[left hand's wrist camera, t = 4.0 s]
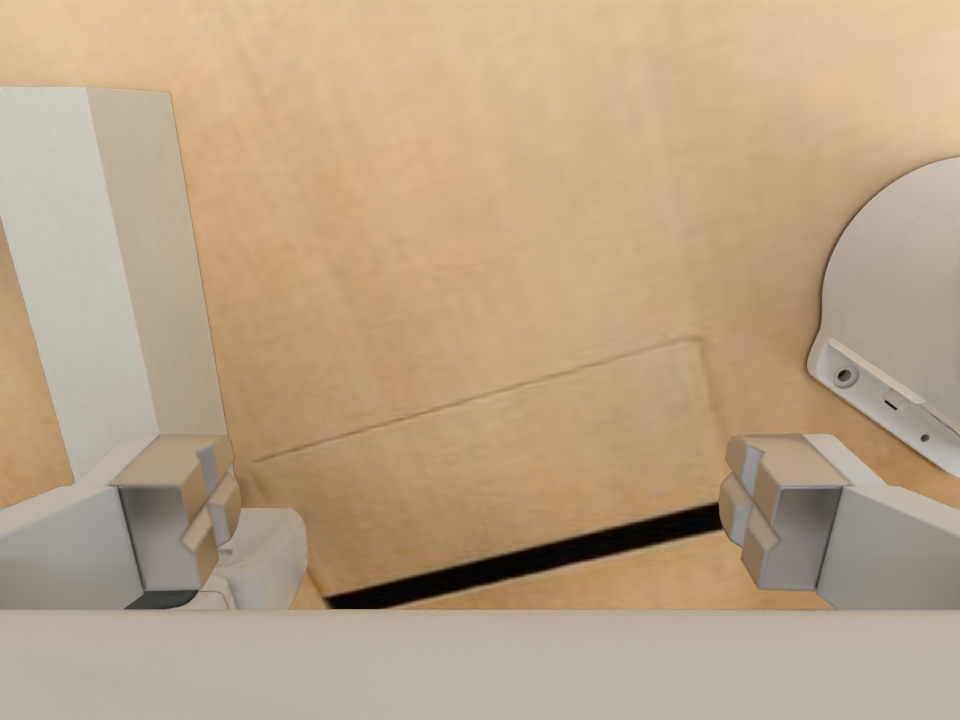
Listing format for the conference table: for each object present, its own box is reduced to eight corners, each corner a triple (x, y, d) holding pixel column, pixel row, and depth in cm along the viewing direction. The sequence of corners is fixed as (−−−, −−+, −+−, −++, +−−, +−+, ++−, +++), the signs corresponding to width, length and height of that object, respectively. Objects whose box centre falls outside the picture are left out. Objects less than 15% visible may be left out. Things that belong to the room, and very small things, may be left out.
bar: (74, 91, 35) (-37, 86, 28) (170, 91, 35) (84, 86, 28) (166, 507, 46) (103, 586, 38) (240, 507, 46) (192, 586, 38)
